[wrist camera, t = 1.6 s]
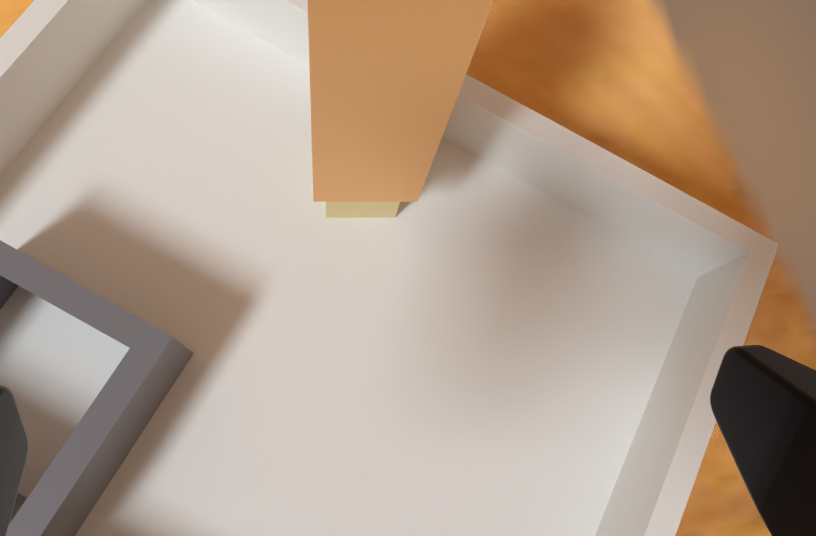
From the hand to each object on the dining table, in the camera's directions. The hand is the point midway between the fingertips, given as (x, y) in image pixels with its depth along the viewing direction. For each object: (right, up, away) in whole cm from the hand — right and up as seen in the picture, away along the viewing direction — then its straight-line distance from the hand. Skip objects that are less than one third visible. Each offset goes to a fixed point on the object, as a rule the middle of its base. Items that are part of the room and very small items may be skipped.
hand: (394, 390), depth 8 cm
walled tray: (-4, -1, +14) cm, 14 cm away
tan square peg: (-2, +5, +15) cm, 15 cm away
